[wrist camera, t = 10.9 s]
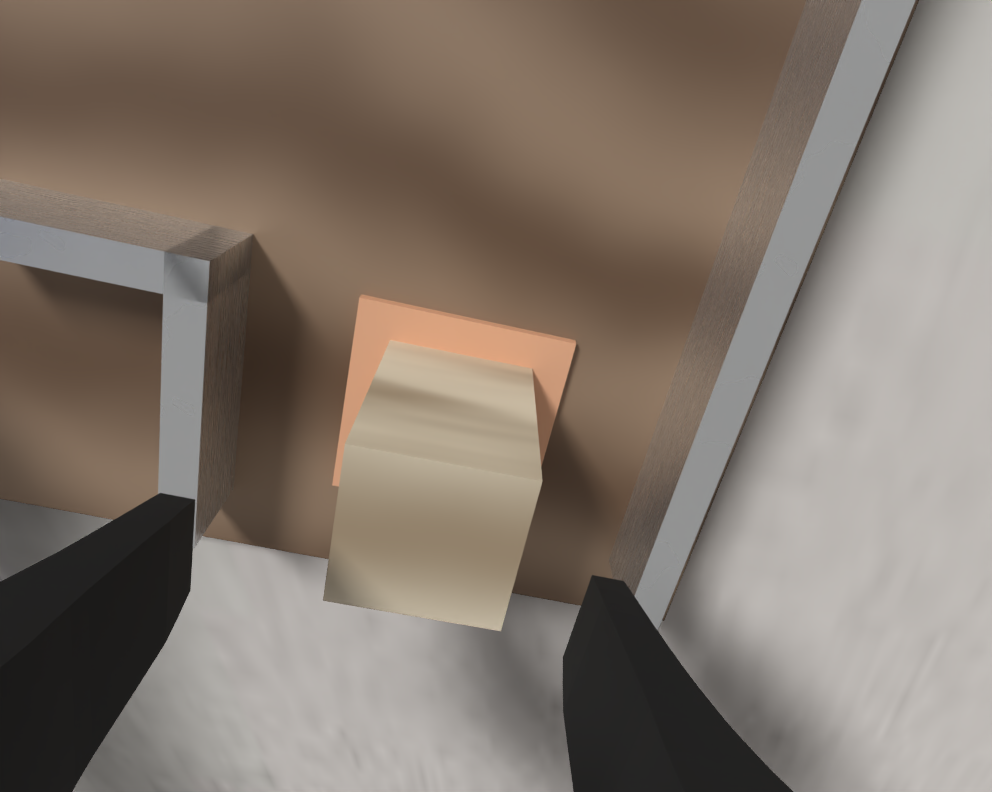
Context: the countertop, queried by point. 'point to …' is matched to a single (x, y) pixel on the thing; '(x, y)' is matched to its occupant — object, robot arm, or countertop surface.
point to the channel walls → (705, 357)
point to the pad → (457, 336)
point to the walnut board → (379, 225)
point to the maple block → (437, 488)
